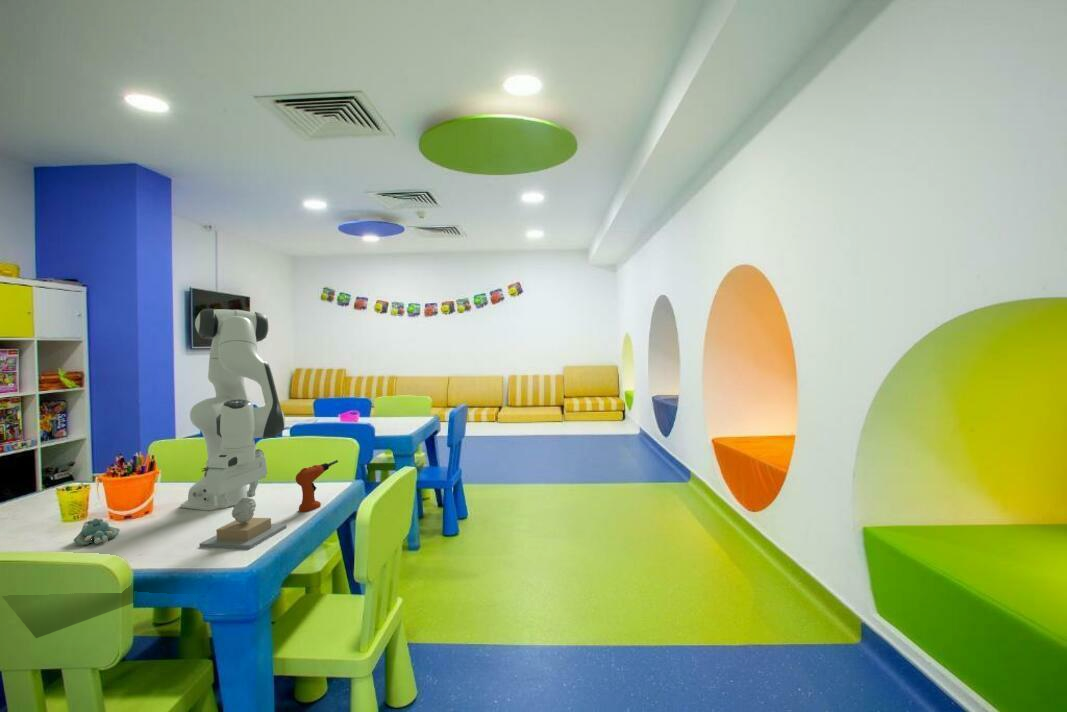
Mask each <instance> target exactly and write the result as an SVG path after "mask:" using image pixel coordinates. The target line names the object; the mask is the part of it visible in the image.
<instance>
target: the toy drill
mask: <svg viewBox="0 0 1067 712" xmlns="http://www.w3.org/2000/svg"><path fill="white" fill-rule="evenodd" d="M337 463H339V460H338V459H336V460H334V461H332V462H328V463H327V462H324V463H322V464H314V465H311V466H309V467H303V468H302V469H300V471H298V472H297V474H296V476H295V482H296V483H297V485H299V486H300V487H301V491H302V492H301V493H302V498H301V499H302V500H301V504H299V506H298V512H299V511H301V512H300V513H305V512H306V511H307V512H311V511H313V510H317V509H319V508H320V507H321V505H322V503H321V502H320V501H319V500H316V498H315V491H316V490H317V486H316V485H315V484H314V483H315V481H316V480H317V479H318V478H319V477H320V476H322V474H324V473H325V472H326V471H327V470H329V468H330V467H331V466H334V465H335V464H337ZM307 512H306V513H307Z"/></svg>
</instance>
